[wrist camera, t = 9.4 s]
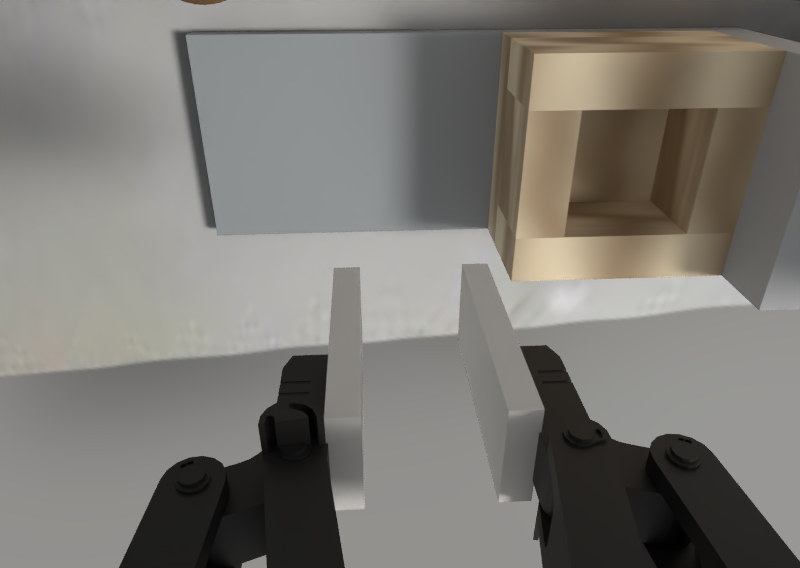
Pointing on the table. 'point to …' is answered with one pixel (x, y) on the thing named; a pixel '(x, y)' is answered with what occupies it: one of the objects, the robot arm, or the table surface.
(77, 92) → the table surface
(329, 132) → the grey corner bracket
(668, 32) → the block
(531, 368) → the robot arm
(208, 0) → the dowel
